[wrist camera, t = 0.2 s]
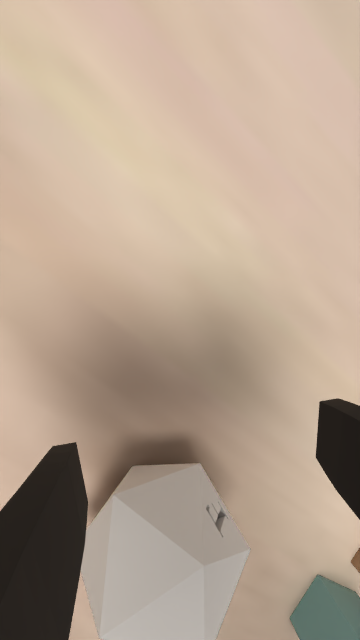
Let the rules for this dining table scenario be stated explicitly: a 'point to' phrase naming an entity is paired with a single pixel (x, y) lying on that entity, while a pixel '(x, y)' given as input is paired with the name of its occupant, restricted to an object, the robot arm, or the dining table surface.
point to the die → (162, 557)
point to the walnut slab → (356, 560)
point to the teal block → (327, 612)
